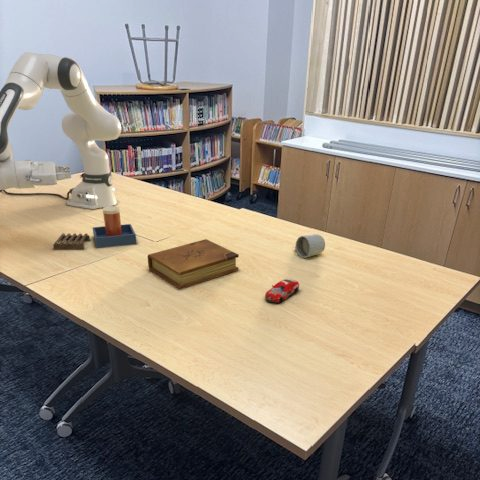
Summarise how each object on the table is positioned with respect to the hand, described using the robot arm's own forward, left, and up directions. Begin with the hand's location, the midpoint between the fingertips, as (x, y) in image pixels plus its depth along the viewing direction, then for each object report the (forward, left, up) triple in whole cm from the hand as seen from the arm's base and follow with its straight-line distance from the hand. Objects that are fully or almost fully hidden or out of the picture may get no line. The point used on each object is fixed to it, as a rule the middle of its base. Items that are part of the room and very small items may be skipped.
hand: (70, 172), depth 164 cm
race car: (+78, -24, -26) cm, 86 cm away
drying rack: (-3, -2, -26) cm, 26 cm away
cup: (+10, +6, -25) cm, 28 cm away
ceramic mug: (+82, +11, -26) cm, 87 cm away
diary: (+47, -13, -26) cm, 55 cm away
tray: (+10, +6, -26) cm, 29 cm away
